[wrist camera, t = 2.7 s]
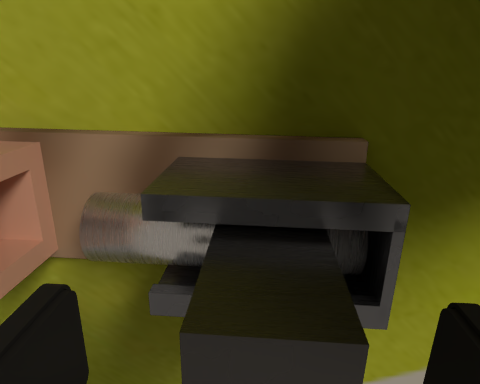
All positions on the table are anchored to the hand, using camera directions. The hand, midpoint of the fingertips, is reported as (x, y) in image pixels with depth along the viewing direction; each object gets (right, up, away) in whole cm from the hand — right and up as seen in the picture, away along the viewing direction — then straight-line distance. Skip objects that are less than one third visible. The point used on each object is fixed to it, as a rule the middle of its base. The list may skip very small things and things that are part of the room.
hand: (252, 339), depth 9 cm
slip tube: (-1, +3, +7) cm, 8 cm away
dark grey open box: (+1, +3, +10) cm, 10 cm away
